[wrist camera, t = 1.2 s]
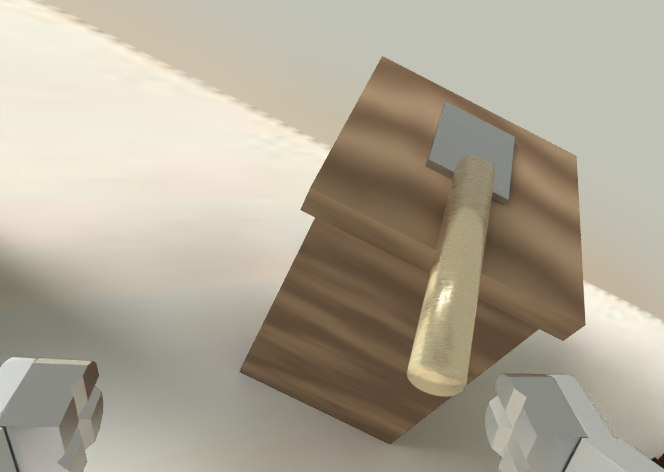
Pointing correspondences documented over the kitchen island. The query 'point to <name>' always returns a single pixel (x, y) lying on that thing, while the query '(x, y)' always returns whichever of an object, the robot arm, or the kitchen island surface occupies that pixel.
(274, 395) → the kitchen island surface
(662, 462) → the mate gourd
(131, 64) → the kitchen island surface
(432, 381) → the brass handle with plate
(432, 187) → the lidded wooden box
